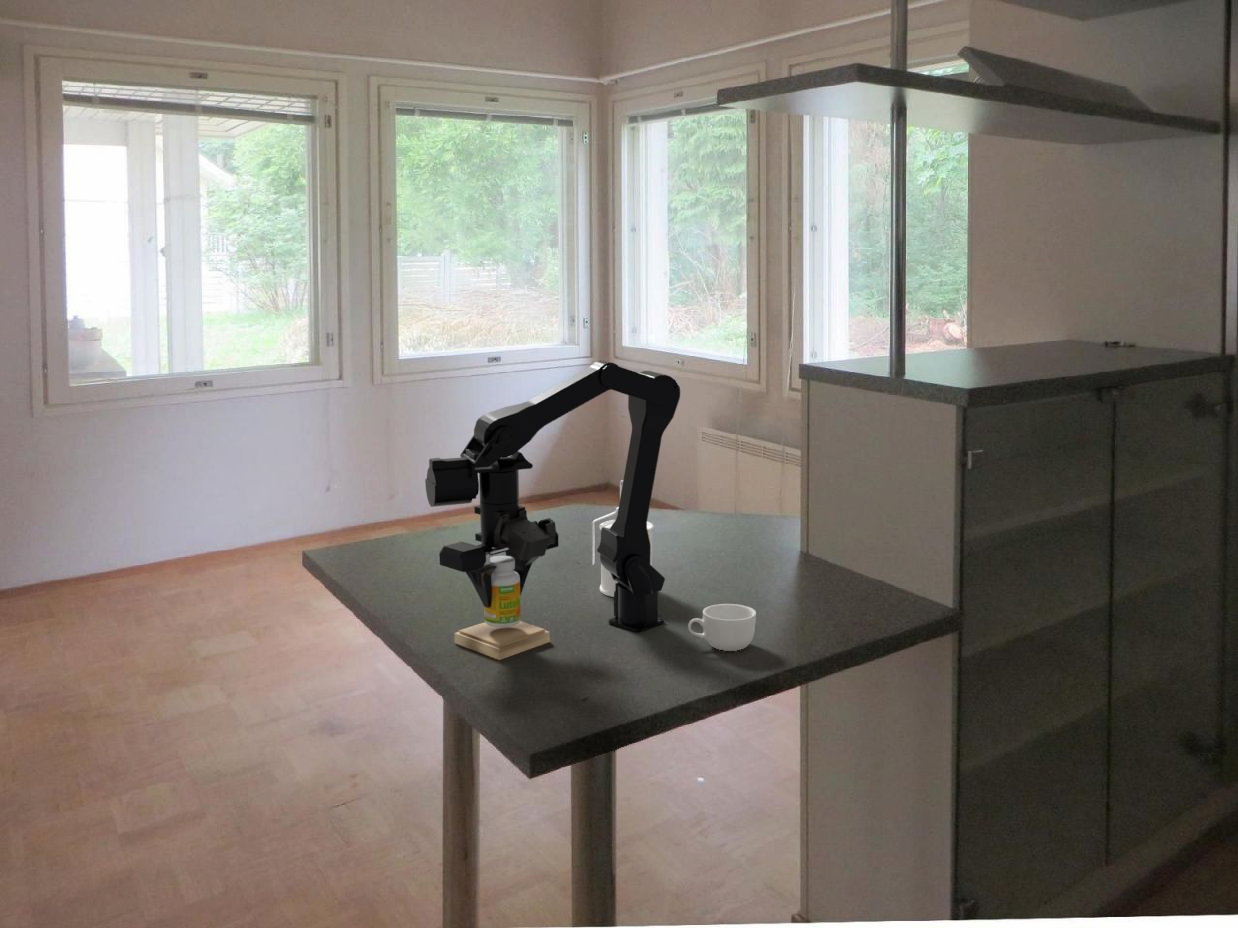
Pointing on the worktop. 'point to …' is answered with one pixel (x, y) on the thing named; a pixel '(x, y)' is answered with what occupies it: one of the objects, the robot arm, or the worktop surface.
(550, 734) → the worktop surface
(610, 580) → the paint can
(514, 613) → the supplement bottle
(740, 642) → the teacup
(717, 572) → the worktop surface
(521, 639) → the beige square tray
